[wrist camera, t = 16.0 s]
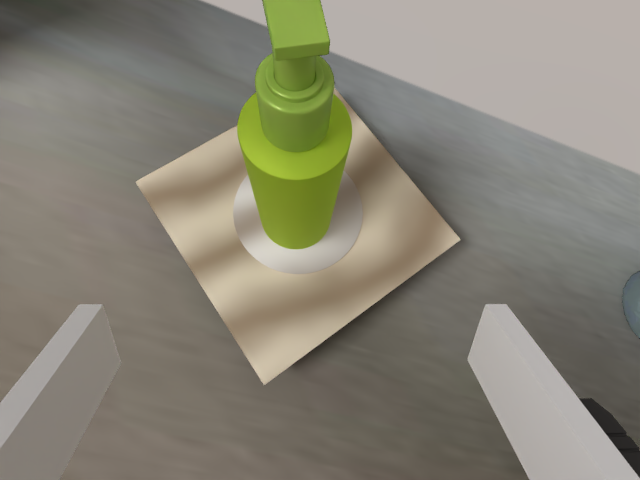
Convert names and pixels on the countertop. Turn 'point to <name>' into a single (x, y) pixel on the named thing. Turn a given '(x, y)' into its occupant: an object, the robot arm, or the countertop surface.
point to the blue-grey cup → (632, 302)
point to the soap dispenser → (295, 128)
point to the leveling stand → (294, 264)
